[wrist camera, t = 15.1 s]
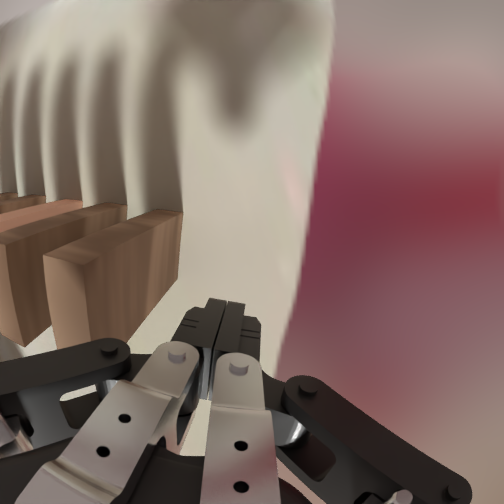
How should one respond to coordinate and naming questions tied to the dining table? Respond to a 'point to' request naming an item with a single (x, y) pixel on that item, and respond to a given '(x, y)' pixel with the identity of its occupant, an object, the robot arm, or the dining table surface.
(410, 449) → the robot arm
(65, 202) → the domino
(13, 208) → the domino
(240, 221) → the dining table surface
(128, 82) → the dining table surface
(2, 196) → the domino
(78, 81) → the dining table surface
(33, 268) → the domino
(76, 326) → the domino
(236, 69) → the dining table surface
